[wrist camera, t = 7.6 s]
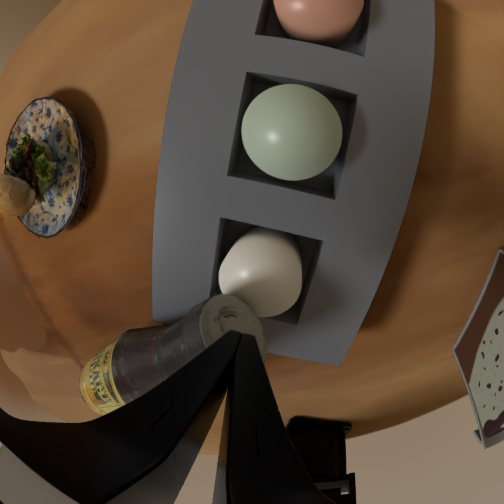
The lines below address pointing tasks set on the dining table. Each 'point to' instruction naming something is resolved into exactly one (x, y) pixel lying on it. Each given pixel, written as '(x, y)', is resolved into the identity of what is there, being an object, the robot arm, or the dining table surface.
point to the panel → (289, 191)
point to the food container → (486, 357)
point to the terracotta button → (318, 19)
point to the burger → (46, 169)
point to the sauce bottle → (162, 351)
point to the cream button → (263, 270)
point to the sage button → (291, 132)
